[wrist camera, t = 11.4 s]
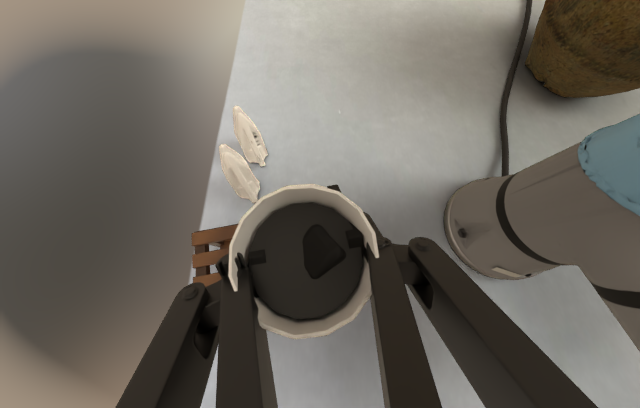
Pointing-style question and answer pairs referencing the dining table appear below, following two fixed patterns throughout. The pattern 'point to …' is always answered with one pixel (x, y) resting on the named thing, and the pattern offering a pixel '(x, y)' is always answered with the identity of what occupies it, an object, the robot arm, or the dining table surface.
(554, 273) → the dining table surface
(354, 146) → the dining table surface
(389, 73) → the dining table surface
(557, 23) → the clay pot
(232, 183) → the shaker set
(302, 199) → the cream cup
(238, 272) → the robot arm
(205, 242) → the rack
